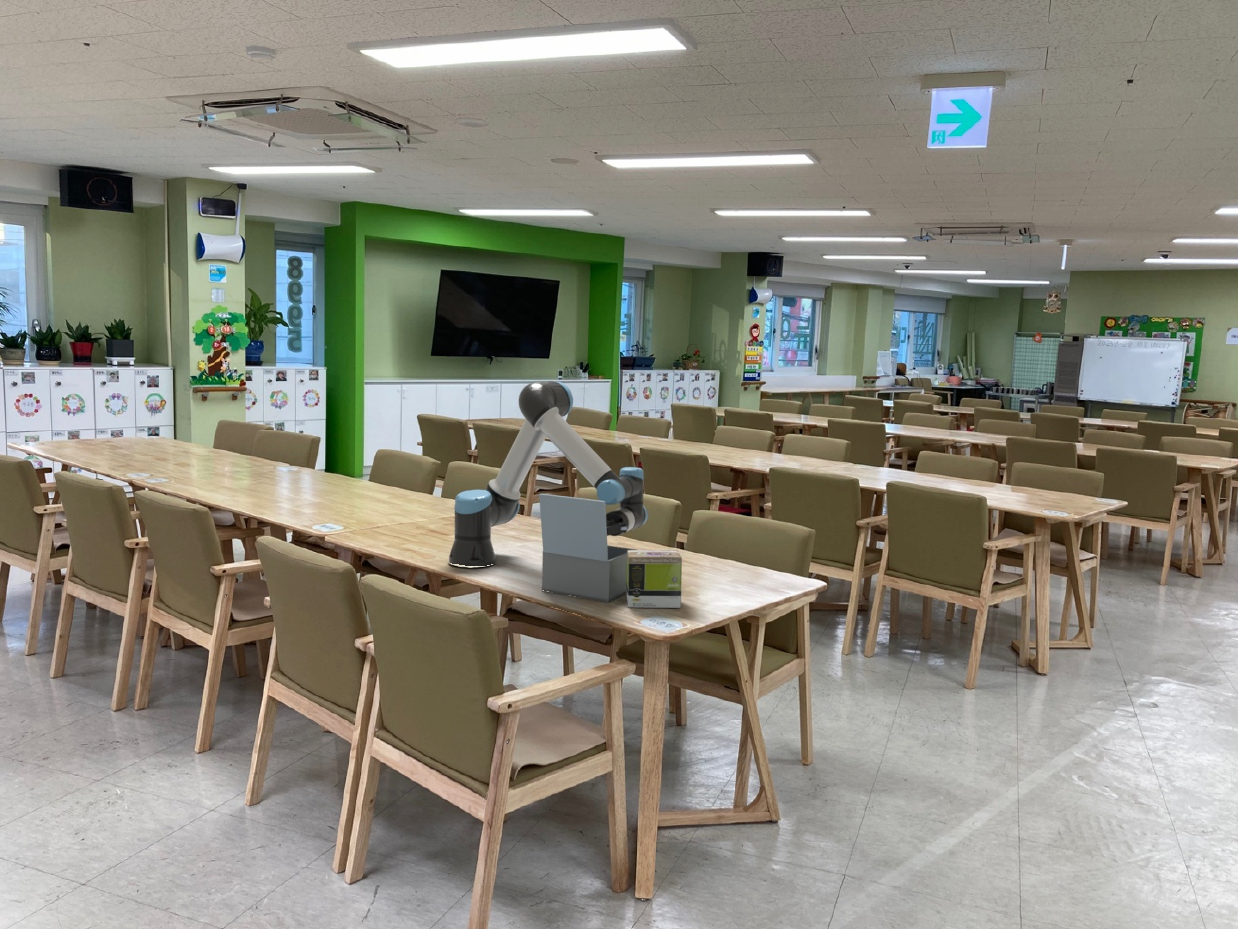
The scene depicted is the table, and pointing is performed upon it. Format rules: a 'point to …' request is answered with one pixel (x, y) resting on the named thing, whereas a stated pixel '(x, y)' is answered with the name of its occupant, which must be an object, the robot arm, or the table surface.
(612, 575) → the storage box
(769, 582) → the table surface
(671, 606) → the tea box
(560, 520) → the lid
